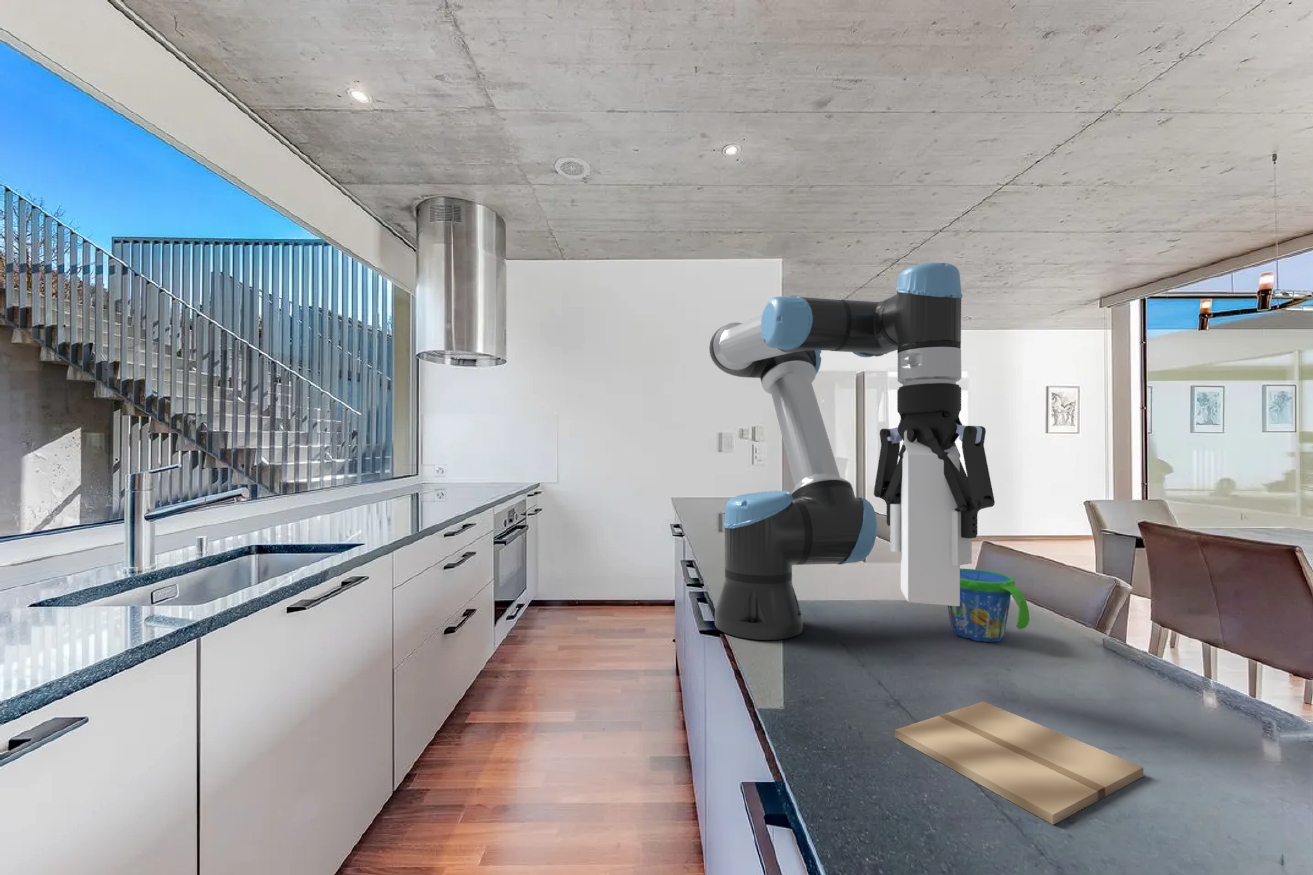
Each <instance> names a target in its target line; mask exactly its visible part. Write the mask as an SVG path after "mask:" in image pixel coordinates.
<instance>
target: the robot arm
mask: <svg viewBox="0 0 1313 875" xmlns="http://www.w3.org/2000/svg"><path fill="white" fill-rule="evenodd" d="M960 273H961V272H960V271H959V269H958V267H957V266H955V265H954V264H951V263H946V262H928V263H920V264H917V265H912V266H911V267H908V268H905V269H903V271H901V272H900V274H899V275H898V277H897V284H896V288H895V291H896V294H894V295H893V296H891V297H888V298H886V299H883V300H882V301H868V300H867V301H866V300H853V299H852V300H851V299H833V298H818V297H804V296H799V295H788V296H774V297H772V298H771V299H769V300H768V301H767V303H766V306H765V307H764V308H763V311H762V313H761V314H760V315H759V316H756V317H754V318H751V319H750V320H747V321H744V322H731V323H728V324H725V325H723V326H721V327H720V328H718V329H716V331H715V332H714V334H713V335H712V337H711V339H710V342H709V347H708V348H709V354H710V358H711V361H712V362H713V364H714V365H715V366H716V367H717V368H718V369H720V370H721V371H722V372H724V373H726V374H727V375H730V376H731V375H732V376H734V377H738V378H751V379H752V378H753V379H760V382H761V386H762V389H763V390H764V392H766V393H768V394H770V395H771V397H772V401H773V405H774V409H775V413H776V418H777V421H778V426H779V429H780V433H781V434H780V435H781V437H782V441H783V442H782V443H783V446H784V450H785V454H786V457H787V462H788V465H789V471H790V475H791V477H792V481H793V486H794V488H793V490H792V491H791V492H790V491H787V490H772V491H770V490H769V491H759V492H757V491H756V492H750V493H746V494H739V495H736V496H733V497H731V498H730V499H729V500H728V501H727V502H726V505H725V509H724V510H725V512H724V520H723V528H724V582H723V586H722V587H721V588H722V589H721V591H720V594H719V598H718V601H717V604H716V608H715V610H714V626H715V627H716V628H717V630H719V631H720V632H722V633H725V634H727V635H730V636H734V637H737V638H742V639H750V640H759V641H777V640H784V639H785V640H786V639H790V638H794V637H797V636H799V635H800V634H801V633H802V632H803V631H804V618H803V613H802V611H801V609H800V605H799V601H798V598H797V595H796V592H795V589H794V586H793V566H799V565H800V566H803V565H805V566H807V565H845V564H850V563H852V564H853V563H859V562H861V561H864V560H865V559H866V558H867V557H868V556H869V555H870V553H871V552H872V550H873V548H874V546H875V543H876V539H877V533H878V521H877V520H878V519H877V515H876V511H875V508H874V506H873V504H872V503H871V502H870V501H868V500H867V499H866V498H863V497H862V496H861V497H858V496H857V497H856V495H855V491H854V489H853V485H852V484H851V482H850V481H848V480H846V479H845V478H842V477H841V475H840V472H839V468H838V466H837V463H836V460H835V456H834V452H833V448H832V445H831V442H830V439H829V436H828V432H827V429H826V426H825V422H824V419H823V415H822V413H821V410H820V406H819V402H818V400H817V396H816V394H815V393H816V392H815V390H814V386H813V382H814V381H815V379H816V377H817V374H818V373H819V371H820V368H821V364H822V356H821V354H822V351H828V352H842V353H843V352H845V353H846V352H847V353H853V354H854V355H855V356H858V357H860V358H871V357H872V358H873V357H876V358H877V357H882V356H884V355H887V354H890V353H893V352H895V351H897V382H898V383H899V384H901V385H902V386H899V387H898V388H897V391H896V392H897V393H896V394H897V398H896V399H897V404H896V405H897V406H896V408H897V413H898V414H899V416H900V421H899V423H898V426H897V427H894V428H882V429H879V430H880V431H879V437H880V451H879V457H878V463H877V471H876V476H875V481H874V483H875V484H874V488H873V489H874V490H873V496H874V497H875V498H880V499H882V500H883V501H884V502H885V504H886V505H885V506H886V524H887V526H888V527H889V529H890V531H889V532H890V534H889V535H890V538H889V539H890V541H889V542H890V544H889V545H890V547H889V549H890V552H891V553H901V482H902V459H903V453H904V452H905V451H906V447H905V445H903V444H904V432H905V431H906V430H907V439H908V441H909V442H911V443H912V442H914V441H915V440H916V438H917V442H919V443H921V444H923V445H925V446H927V447H929V448H931V451H932V452H933V453H935V454H937V455H938V458H939V459H942V460H943V461H944V475H945V478H946V480H947V483H948V485H949V487H950V490H951V492H952V495H953V497H954V499H955V502H956V504H957V506H958V508H955V510H956V511H952V564H953V565H960V566H963V565H964V566H965V565H970V564H972V552H973V551H972V539H976V538H977V536H978V513H979V511H981V510H983V509H987V508H988V509H989V508H992V507H993V506H995V503H996V502H995V496H994V492H993V486H992V482H991V476H990V471H989V467H988V461H987V456H986V450H985V446H984V444H985V440H986V439H985V438H986V432H987V430H986V428H985V427H984V426H982V425H965V424H963V423H962V422H961V419H960V412H962V387H961V386H960V384H957V382H959V381H961V380H962V346H961V345H962V298H963V294H962V287H961V286H962V285H961V276H960V275H961V274H960ZM958 439H959V440H960V441H961V450H962V455H963V459H964V460H963V461H964V465H965V467H964V466H963V464H962V460H960V472H959V471H958V469H957V468H956V467H955V465H954V464H953V463H952V461H951V460H950V458H949V457H948V456H947V454H948V453H949V452H945V451H944V450H947V449H950V448H951V447H952V446H956V448H957V450H958V452H959V455H960V456H961V454H960V451H959V449H958V446H957V445H956V444H957V443H956V441H957V440H958ZM902 441H903V442H902ZM901 442H902V446H901ZM900 447H901V448H900Z"/></svg>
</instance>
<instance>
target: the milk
mask: <svg viewBox="0 0 1313 875" xmlns="http://www.w3.org/2000/svg"><path fill="white" fill-rule="evenodd" d="M903 442H904V444H903V443H902V445H905V447H906V451H905V452H904V453H903V459H902V482H901V552H900V591H901V593H902V595H903V596H904V598H905V599H906V601H907V602H908V603H913V604H914V603H915V604H917V603H918V604H927V605H939V606H948V605H949V606H960V566H961V565H953V564H952V511H956V510H955V508H958V506H957V504H956V502H955V499H954V497H953V495H952V492H951V490H950V487H949V485H948V483H947V480H946V478H945V475H944V461H943V460H942V459H939V458H938V455H937V454H935V453H933V452H932V451H931V448H929V447H927V446H925V445H923V444H921V443H919V442H917V438H916V440H915V441H914V442H912V443H911V442H909V441H908V439H907V430H906V431H905V432H904V441H903ZM956 446H957V445H956ZM956 446H952V447H951V448H950V449H947V450H944V451H945V452H949V453H948V454H947V456H948V457H949V458H950V460H951V461H952V463H953V464H954V465H955V467H956V468H957V469H958V471H959V472H960V461H961V459H960V458H961V454H960V455H959V453H960V451H959V449H958V447H957V448H956ZM957 449H958V450H957ZM958 451H959V452H958Z"/></svg>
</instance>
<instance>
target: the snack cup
mask: <svg viewBox="0 0 1313 875" xmlns="http://www.w3.org/2000/svg"><path fill="white" fill-rule="evenodd" d="M1015 583H1016V582H1015V579H1014V578H1013V577H1012V576H1010V575H1006V574H1003V573H1000V572H996V571H988V570H985V569H984V570H982V569H976V568H975V569H974V568H960V606H949V605H947V610H948V611H947V612H948V617H949V621H950V627H951V630H952V633H954V634H955V635H956V636H960V637H963V638H967V639H971V640H972V641H976V642H986V643H994V642H996V643H998V642H1001V641H1002V640H1003V639H1004V637H1005V633H1006V629H1007V623H1008V617H1009V611H1010V605H1011V598H1013V600H1014V602H1015V604H1016V605H1017V607H1018V616H1017V620H1016V621H1017V622H1016V628H1017V629H1019V630H1022V629H1025V628H1027V626H1028V625H1029V623H1030V612H1029V606H1028V602H1027V599H1026V598H1025V595H1024V593H1023V592H1022V590H1021V589H1020V588H1019V587H1018V586H1016V584H1015Z"/></svg>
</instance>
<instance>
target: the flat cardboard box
mask: <svg viewBox="0 0 1313 875" xmlns="http://www.w3.org/2000/svg"><path fill="white" fill-rule="evenodd" d="M894 738H895V739H897V740H900V741H901V742H903V743H905V744H906V745H909V746H910V747H911V748H912V749H913V748H914V749H915V750H917V751H919V752H921V753H923V754H925V755H926V756H928V757H930V758H932V759H933V760H935V761H937V762H939V763H941V765H944V766H946V767H947V768H949V769H951V770H953V771H955V772H957V773H959V774H961V775H963V776H964V777H966V778H967V779H970V780H971V781H973V782H975V783H977V784H978V785H980V786H983V787H985V789H987V790H990V791H992V792H993V793H995V794H996V795H998V796H1000V797H1002V798H1003V799H1006V800H1007V801H1009V802H1011V803H1013V804H1014V805H1017V806H1018V807H1020V808H1021V809H1024V810H1025V811H1027V812H1029V813H1031V814H1032V815H1035V816H1037V817H1038V818H1040V819H1042V820H1044V821H1045V822H1047V823H1049V824H1051V825H1052V826H1053V825H1055V824H1058V823H1059V822H1061V821H1064V820H1065V819H1067V818H1068V817H1070V816H1072V815H1074V814H1076V813H1078V812H1080V811H1081V809H1082V810H1084V809H1085V808H1088V807H1089V806H1091V805H1093V804H1094V803H1097V802H1099V801H1100V800H1102V799H1104V798H1105V797H1107V796H1109V795H1111V794H1113V793H1115V792H1117V791H1118V790H1120V789H1123V788H1124V787H1126V786H1128V785H1130V784H1131V783H1133V782H1134V783H1135V781H1137V780H1139V779H1141V778H1142V777H1144V767H1143V766H1142V765H1139V764H1137V763H1134V762H1132V761H1129V760H1126V759H1124V758H1122V757H1120V756H1117V755H1114V754H1113V753H1112V754H1111V753H1110V752H1107V751H1105V750H1102V749H1100V748H1098V747H1095V746H1093V745H1090V744H1088V743H1086V742H1083V741H1080V740H1078V739H1075V738H1073V737H1072V736H1071V737H1070V736H1069V735H1066V734H1063V733H1061V732H1058V731H1057V730H1054V729H1051V728H1049V727H1046V726H1044V725H1041V724H1039V723H1036V722H1035V721H1032V720H1029V719H1027V718H1024V717H1022V716H1020V715H1017V714H1015V713H1012V712H1009V711H1008V710H1005V709H1003V708H1000V707H998V706H995V705H993V704H991V703H989V702H986V701H980V702H977V703H974V704H971V705H968V706H965V707H961V708H957V709H955V710H952V711H949V712H946V713H945V712H944V713H942V714H938V715H936V716H933V717H929V718H928V719H923V720H921V721H918V722H914V723H912V724H909V725H906V726H901V727H900V728H895V730H894ZM1084 807H1085V808H1084ZM1079 810H1080V811H1079ZM1077 811H1078V812H1077Z"/></svg>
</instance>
